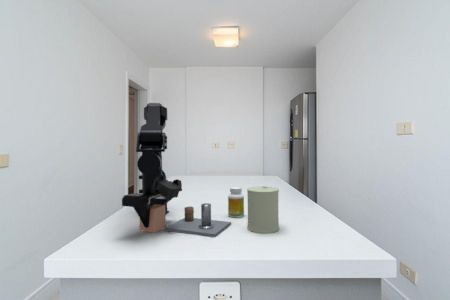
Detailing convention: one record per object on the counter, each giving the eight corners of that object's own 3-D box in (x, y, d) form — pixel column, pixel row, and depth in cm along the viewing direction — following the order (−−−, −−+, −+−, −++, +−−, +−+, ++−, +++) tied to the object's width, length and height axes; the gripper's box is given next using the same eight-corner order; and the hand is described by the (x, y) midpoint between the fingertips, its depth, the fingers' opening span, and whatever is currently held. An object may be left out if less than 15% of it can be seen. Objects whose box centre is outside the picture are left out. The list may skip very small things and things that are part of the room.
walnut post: (182, 221, 82) (182, 208, 82) (187, 218, 84) (187, 206, 84) (190, 222, 81) (190, 209, 81) (195, 219, 83) (195, 207, 83)
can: (281, 225, 80) (280, 185, 79) (276, 234, 71) (276, 190, 71) (251, 222, 83) (251, 184, 82) (243, 231, 74) (243, 189, 74)
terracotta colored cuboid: (139, 230, 76) (139, 207, 76) (151, 225, 80) (151, 203, 80) (154, 232, 74) (154, 209, 74) (165, 227, 78) (165, 205, 78)
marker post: (195, 228, 75) (195, 205, 75) (203, 223, 79) (202, 202, 79) (209, 229, 73) (209, 206, 73) (216, 225, 77) (216, 203, 77)
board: (164, 230, 75) (164, 227, 75) (185, 219, 87) (185, 217, 87) (214, 237, 69) (214, 234, 69) (231, 224, 80) (231, 222, 80)
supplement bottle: (242, 218, 87) (242, 189, 87) (226, 217, 88) (226, 188, 88) (244, 214, 93) (244, 186, 92) (229, 213, 94) (229, 186, 94)
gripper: (154, 176, 65) (155, 238, 65) (192, 169, 82) (192, 219, 83) (120, 174, 69) (120, 233, 70) (162, 168, 87) (163, 215, 87)
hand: (152, 224), depth 77 cm, fingers closed on terracotta colored cuboid, 5 cm apart
